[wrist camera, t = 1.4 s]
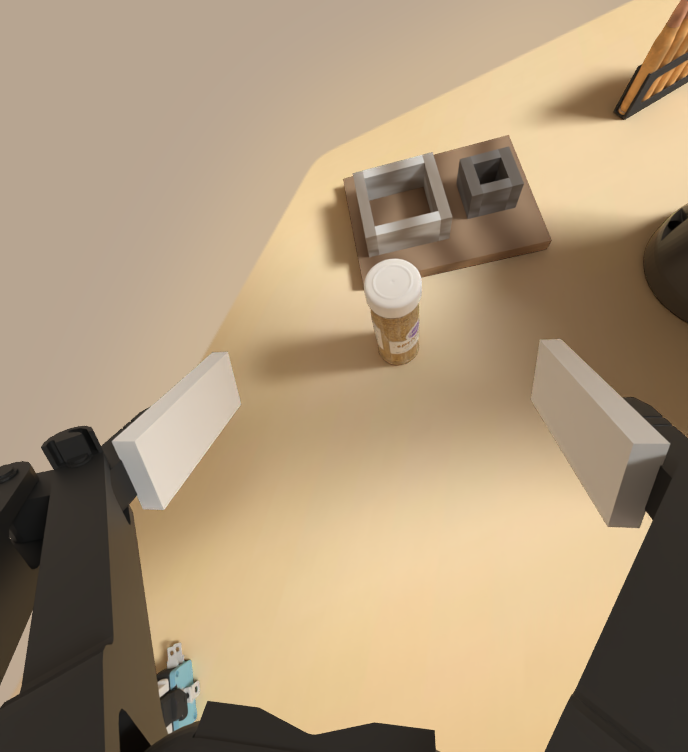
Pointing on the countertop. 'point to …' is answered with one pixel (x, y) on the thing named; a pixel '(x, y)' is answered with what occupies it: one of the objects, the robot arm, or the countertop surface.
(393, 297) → the sprinkles bottle
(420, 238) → the socket board
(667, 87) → the ammunition clip
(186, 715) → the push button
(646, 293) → the countertop surface
